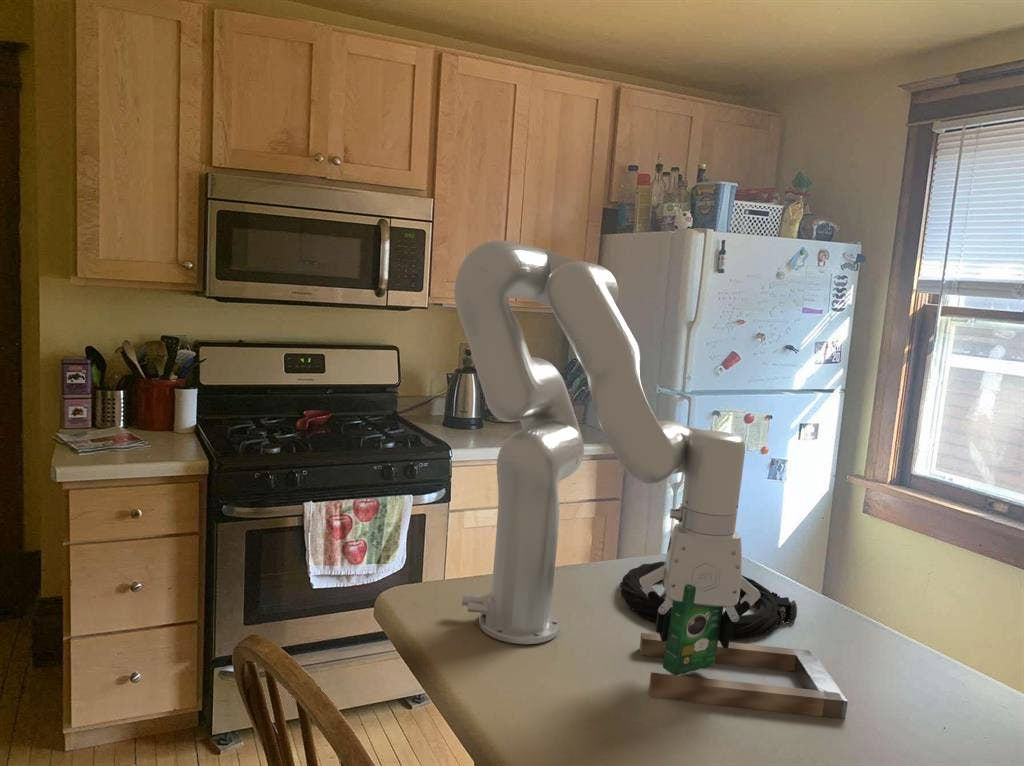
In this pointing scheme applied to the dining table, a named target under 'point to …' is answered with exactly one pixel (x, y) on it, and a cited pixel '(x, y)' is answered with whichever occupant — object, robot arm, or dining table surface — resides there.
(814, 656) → the frame
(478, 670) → the dining table surface
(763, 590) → the cable lock
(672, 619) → the coffee box
